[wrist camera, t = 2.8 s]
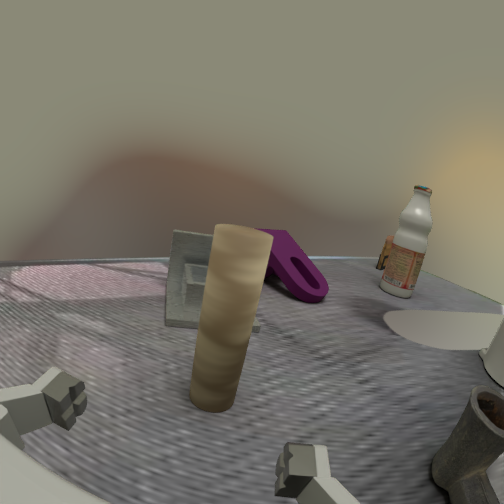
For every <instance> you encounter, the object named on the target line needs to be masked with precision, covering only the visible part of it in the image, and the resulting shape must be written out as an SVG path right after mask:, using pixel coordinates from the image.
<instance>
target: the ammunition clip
mask: <svg viewBox="0 0 504 504" xmlns="http://www.w3.org/2000/svg"><path fill="white" fill-rule="evenodd" d="M393 239H394V236H388V237H387V239H386V242H385V244H384V247H383V250H382V253H381V254H380V257H379V261H378V264H377V267H376V269H379V270H383V269H385V267H386V263H387V260H388V257H389V253H390V250H391V246H392V242H393Z"/></svg>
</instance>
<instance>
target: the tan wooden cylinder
mask: <svg viewBox="0 0 504 504" xmlns="http://www.w3.org/2000/svg"><path fill="white" fill-rule="evenodd" d="M272 242H273V236H272V235H270V234H268V233H266V232H263V231H260V230H257V229H253V228H249V227H244V226H239V225H231V224H218V225H216V226H215V231H214V236H213V242H212V248H211V253H210V259H209V265H208V270H207V276H206V282H205V288H204V295H203V301H202V307H201V314H200V320H199V327H198V334H197V341H196V348H195V355H194V362H193V370H192V377H191V385H190V394H189V396H190V399H191V401H192V403H193V404H194V405H195V406H197V407H198V408H200V409H202V410H204V411H208V412H223V411H226V410H228V409H229V408H230V407H231V406H232V405H233V403H234V399H235V395H236V391H237V387H238V383H239V379H240V375H241V371H242V367H243V363H244V359H245V355H246V351H247V347H248V343H249V339H250V335H251V331H252V327H253V323H254V319H255V315H256V311H257V306H258V302H259V298H260V294H261V290H262V285H263V281H264V277H265V273H266V268H267V264H268V260H269V255H270V251H271V247H272Z"/></svg>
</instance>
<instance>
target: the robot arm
mask: <svg viewBox="0 0 504 504" xmlns="http://www.w3.org/2000/svg"><path fill="white" fill-rule="evenodd" d="M479 355H480V356H481V358H482V359H483V361H484V366H485V369H486V370H487V372H488V373H489V374H490V376H491V377H492V378H493V379H494V380H495V381H496V382H498V383H499V384H500V385H501V386H503V387H504V319H503V320H502V322H501V324H500V327H499V328H498V330H497V332H496V334H495V336H494V338H493V340H492V342H491V344H490V346H489V348H482V349H481V350H480V352H479ZM84 389H85V385H84V382H82V381H80V380H78V379H77V378H75V377H73V376H71V375H69V374H67V373H66V372H64V371H62V370H60V369H58V368H57V367H51V368H50V369H49V370H48V371H47V372H46V373H45V374H44V375H42V376H41V377H40V378H39V379H38V380H37V381H36V382H35V383H34V384H32V385H30V384H26V385H21V386H15V387H10V388H4V389H0V504H112V503H110V502H107V501H105V500H103V499H101V498H99V497H97V496H95V495H93V494H91V493H89V492H87V491H85V490H83V489H81V488H79V487H78V486H76V485H74V484H72V483H70V482H69V481H67V480H65V479H63V478H62V477H60V476H58V475H57V474H55V473H54V472H52V471H50V470H49V469H47V468H46V467H44V466H43V465H41V464H40V463H38V462H37V461H35V460H34V459H33V458H31V457H30V456H28V455H27V454H26V453H24V452H23V451H22V450H23V449H24V448H25V445H24V442H23V441H22V439H21V437H20V435H23V434H26V433H29V432H31V431H34V430H37V429H39V428H42V427H45V426H47V425H50V424H52V423H55V424H57V425H58V426H60V427H62V428H64V429H66V430H68V431H69V430H70V429H71V428H72V426H73V425H74V424H75V423H76V417H77V416H80V415H82V414H83V412H84V411H85V408H86V406H87V396H86V395H85V393H84V392H83V390H84ZM275 474H276V476H277V477H278V479H277V480H276V482H275V496H278V497H288V498H296V500H297V502H298V503H299V504H361V503H359V502H358V501H357V500H356V499H355V498H354V497H353V496H352V495H351V494H350V493H349V492H348V491H347V490H346V489H345V488H344V487H343V486H342V485H341V484H340V483H339V482H338V480H337V479H336V478H332V477H331V472H330V465H329V459H328V452H327V447H326V446H322V445H312V444H301V443H291V442H287V443H286V444H285V446H284V452H283V453H281V454H280V455H279V457H278V460H277V464H276V471H275Z"/></svg>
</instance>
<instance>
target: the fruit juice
mask: <svg viewBox="0 0 504 504" xmlns="http://www.w3.org/2000/svg"><path fill="white" fill-rule="evenodd" d="M431 194H432V190H431V189H429V188H426V187H423V186H419V185H415V187H414V195H413V197H412V199H411V200H410V202H409V204H408V205H407V207H406V208H405V209H404V210H403V211H402V213H401V215H400V218H399V229H398V230H397V232H396V234H395V236H394V239H393V242H392V246H391V250H390V253H389V257H388V260H387V263H386V267H385V270H384V273H383V276H382V279H381V283H380V287H381V289H383V290H384V291H386V292H387V293H390V294H392V295H395V296H398V297H402V298H409V297H410V296H411V295H412V293H413V290H414V287H415V284H416V281H417V278H418V275H419V272H420V269H421V266H422V262H423V259H424V256H425V253H426V249H427V244H428V241H427V237H428V234H429V232H430V231H431V228H432V218H431V212H430V200H429V199H430V196H431Z"/></svg>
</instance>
